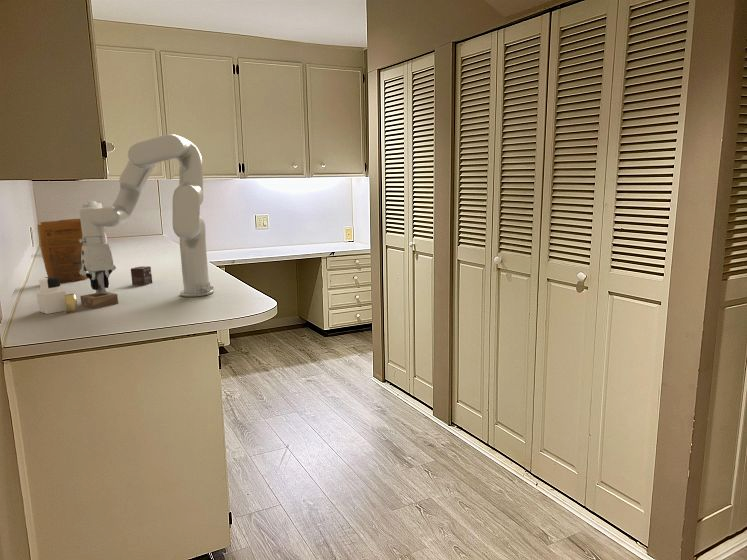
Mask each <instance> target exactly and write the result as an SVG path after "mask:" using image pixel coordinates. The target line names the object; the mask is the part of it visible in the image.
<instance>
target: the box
mask: <svg viewBox="0 0 747 560" xmlns="http://www.w3.org/2000/svg"><path fill="white" fill-rule="evenodd" d="M130 275H131V276H130V277H131V284H132V286H147V285H149V283H150V284H152V283H153V277H152V276H153V274H152V267H151V266H144V265H143V266H136V267H132V268H130ZM146 284H147V285H146Z"/></svg>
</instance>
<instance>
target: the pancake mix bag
mask: <svg viewBox="0 0 747 560" xmlns="http://www.w3.org/2000/svg"><path fill="white" fill-rule="evenodd" d="M39 223H40V224H37V226H36V227H37V230H36V231H37V235H38V241H39V242H38V243H39V249H40V252H41V256H42V260H43V264H44V269H45V272H46V275H47V276H46V277H58V278H59V280H60V284H63V283H64V284H65V283H70V282H79V281H80V280H81V281H86V280H87V279H88V280H89V278H87V277H86V276H84V275H82V274H80V273H79V272H80V270H81V268H82V261H81V250H82V245H84V244H83V243H80V241H79V240H80V239H82V237H83V236H82V229H81V221H80V218H71V219H60V220H50V221H41V222H39ZM85 272H86V273H87V271H85ZM85 279H86V280H85Z"/></svg>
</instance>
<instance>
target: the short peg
mask: <svg viewBox="0 0 747 560" xmlns="http://www.w3.org/2000/svg"><path fill="white" fill-rule="evenodd" d="M64 296H65V304H66V311H65V312H66V313H67V314H72V313H73V314H74V313H77V312H78V311H79V310H78V309H79V308H78V303H77V295H76V294H75V293H70V294H69V293H68V294H67V293H66V295H64Z"/></svg>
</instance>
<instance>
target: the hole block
mask: <svg viewBox="0 0 747 560" xmlns="http://www.w3.org/2000/svg"><path fill="white" fill-rule="evenodd" d="M118 298H119V297H118V293H115V292H114V293H113V292H110V291H106V292H105V291H104V292H99V293H96V292H94V293H89V294H84V295H80V303H81V306H83V307H87V308H90V309H97V308H101V307H108V306H112V305H111V304H113V305H116V303H117V304H119V299H118ZM107 305H108V306H107Z"/></svg>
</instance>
